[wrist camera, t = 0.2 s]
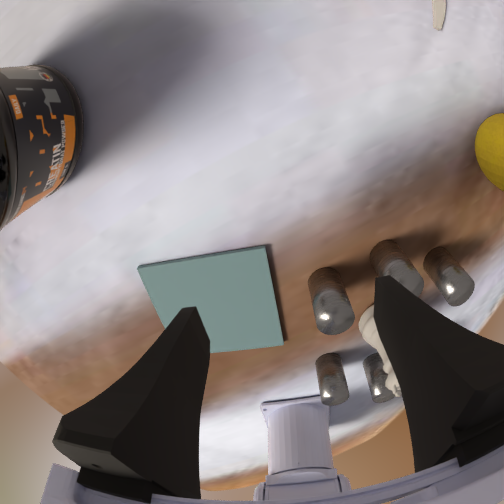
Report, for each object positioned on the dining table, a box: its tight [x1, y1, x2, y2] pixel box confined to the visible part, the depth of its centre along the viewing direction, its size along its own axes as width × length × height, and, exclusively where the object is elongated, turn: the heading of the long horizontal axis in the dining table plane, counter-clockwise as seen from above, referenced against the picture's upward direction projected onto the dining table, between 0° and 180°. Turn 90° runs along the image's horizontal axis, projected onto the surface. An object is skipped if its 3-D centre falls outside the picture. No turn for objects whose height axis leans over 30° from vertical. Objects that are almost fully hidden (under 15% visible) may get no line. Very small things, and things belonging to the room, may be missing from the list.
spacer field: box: [308, 240, 475, 406], centre depth 23 cm, size 16×13×4 cm
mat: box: [137, 245, 284, 353], centre depth 24 cm, size 10×10×1 cm
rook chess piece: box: [359, 304, 402, 397], centre depth 21 cm, size 4×4×8 cm
